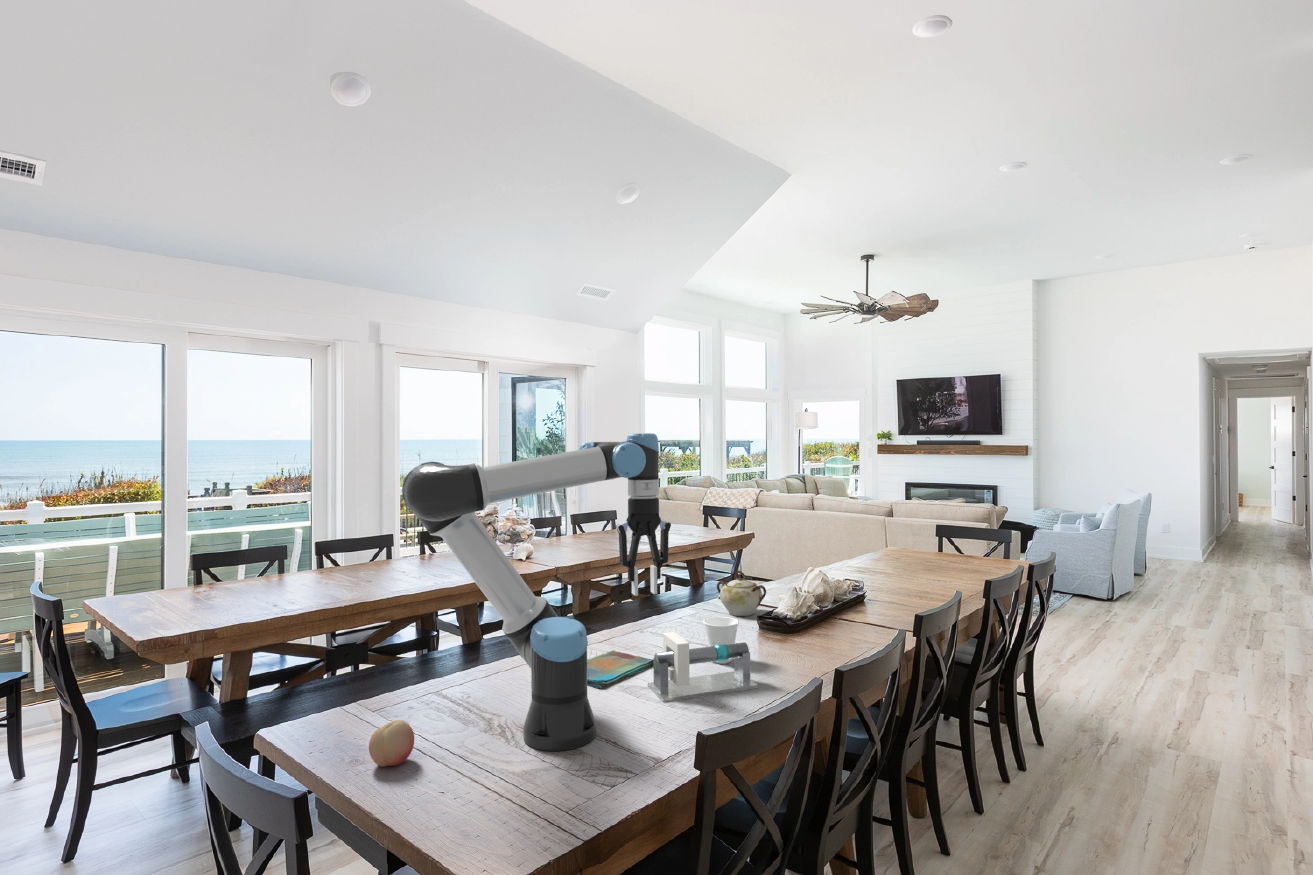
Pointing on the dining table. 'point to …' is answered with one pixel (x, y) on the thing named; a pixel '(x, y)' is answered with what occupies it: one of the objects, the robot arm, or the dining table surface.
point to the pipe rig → (707, 682)
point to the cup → (720, 632)
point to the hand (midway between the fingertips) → (644, 593)
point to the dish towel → (613, 668)
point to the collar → (677, 658)
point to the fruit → (391, 743)
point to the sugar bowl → (741, 596)
